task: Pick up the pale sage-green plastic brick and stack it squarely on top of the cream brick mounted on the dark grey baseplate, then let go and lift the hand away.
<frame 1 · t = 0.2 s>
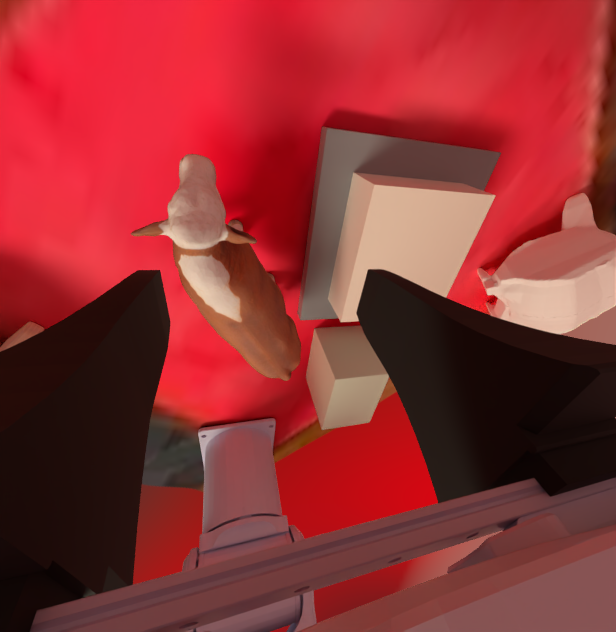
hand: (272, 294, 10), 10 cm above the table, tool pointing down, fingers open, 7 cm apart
tower base: (384, 239, 22), on the table
sage brick: (331, 352, 28), on the table
bull figurine: (233, 251, 19), on the table
white lumpy shape: (542, 248, 27), on the table
toy table: (0, 357, 20), on the table
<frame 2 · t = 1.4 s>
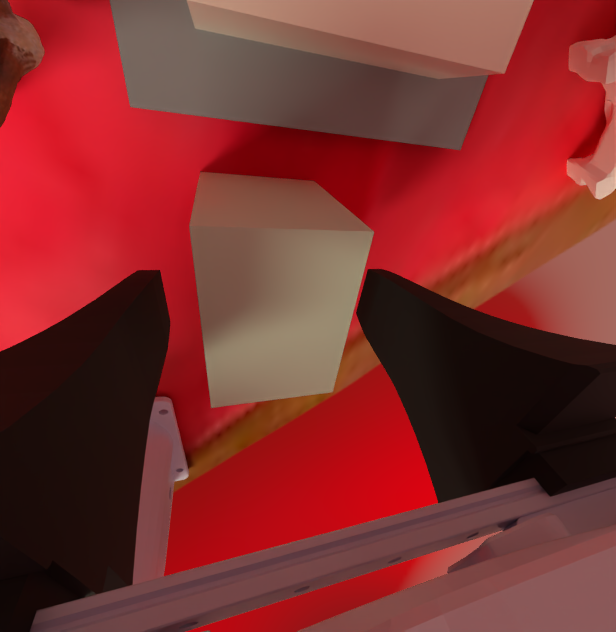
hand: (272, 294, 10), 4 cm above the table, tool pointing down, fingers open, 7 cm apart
sage brick: (258, 250, 13), on the table
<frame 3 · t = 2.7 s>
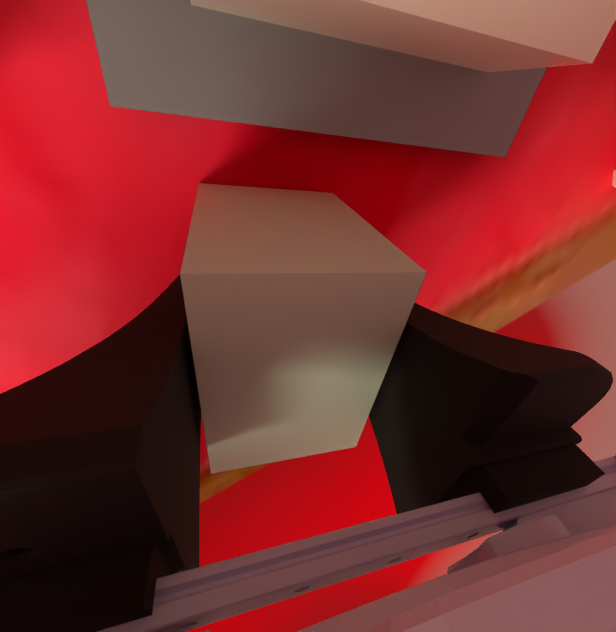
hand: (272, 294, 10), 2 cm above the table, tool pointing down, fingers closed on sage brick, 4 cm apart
sage brick: (266, 272, 12), on the table, touching gripper
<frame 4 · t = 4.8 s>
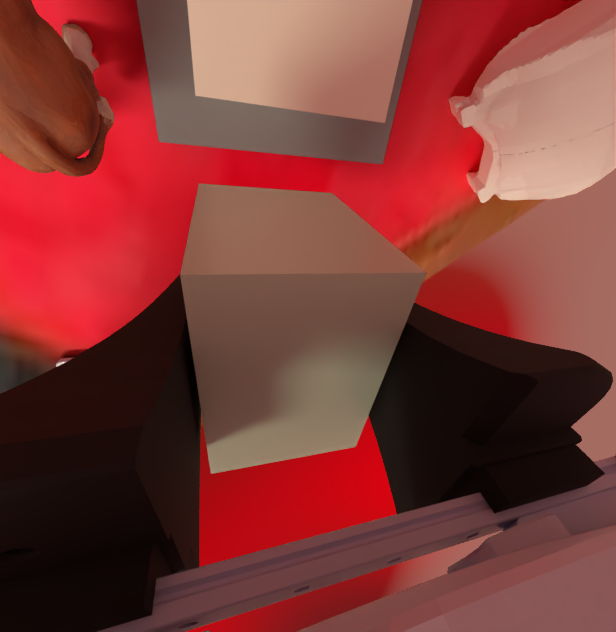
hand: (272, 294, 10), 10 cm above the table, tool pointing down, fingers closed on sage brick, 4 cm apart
sage brick: (266, 273, 12), point 8 cm above the table, touching gripper
white lumpy shape: (548, 74, 18), on the table
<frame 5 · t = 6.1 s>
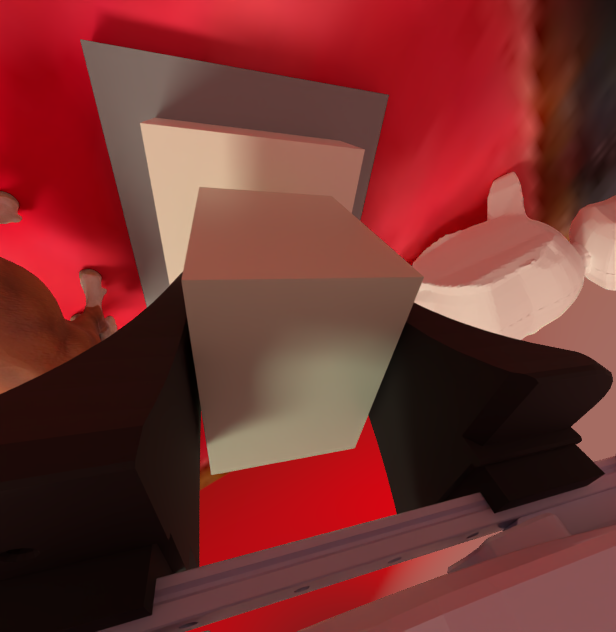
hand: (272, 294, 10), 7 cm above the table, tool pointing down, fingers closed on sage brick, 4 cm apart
tower base: (252, 223, 16), on the table
sage brick: (266, 275, 12), point 6 cm above the table, touching gripper
bull figurine: (23, 238, 14), on the table
white lumpy shape: (473, 245, 21), on the table
when the fingers open (7 cm above the table, at t = 7.1 s): sage brick stays where it is, resting on tower base.
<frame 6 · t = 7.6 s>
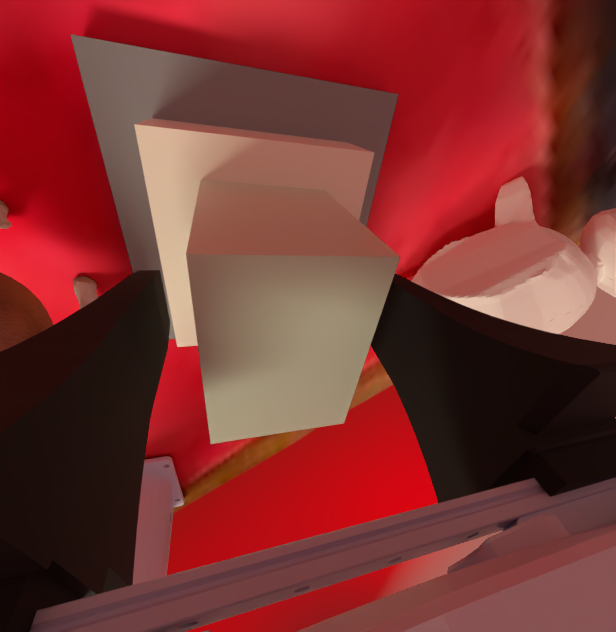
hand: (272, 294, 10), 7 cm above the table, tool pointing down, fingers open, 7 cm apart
tower base: (254, 228, 15), on the table
sage brick: (262, 264, 12), point 4 cm above the table, touching tower base
bull figurine: (14, 245, 13), on the table
white lumpy shape: (479, 251, 21), on the table
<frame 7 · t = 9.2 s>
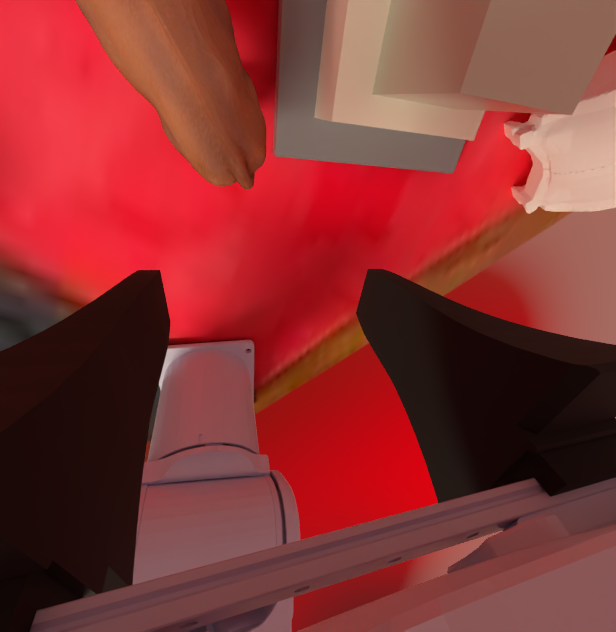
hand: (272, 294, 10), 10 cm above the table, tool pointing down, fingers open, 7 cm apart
tower base: (395, 20, 15), on the table
sage brick: (442, 3, 12), point 4 cm above the table, touching tower base
bull figurine: (164, 6, 13), on the table
white lumpy shape: (589, 102, 20), on the table
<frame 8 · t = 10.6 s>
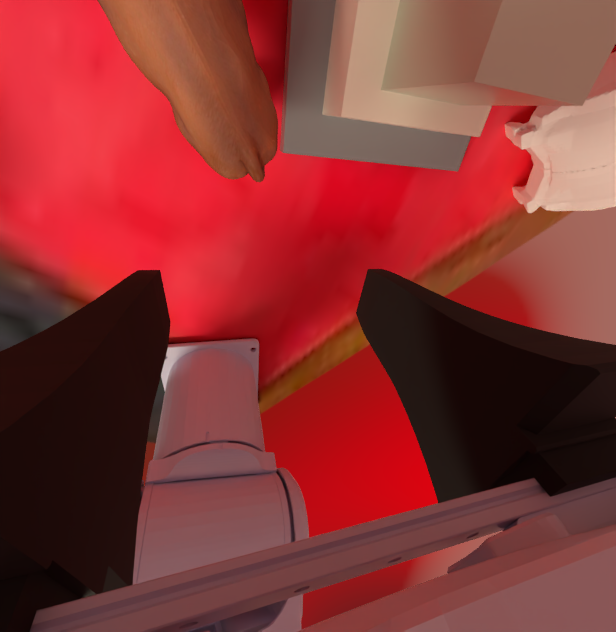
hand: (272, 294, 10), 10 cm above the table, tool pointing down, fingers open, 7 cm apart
tower base: (402, 19, 15), on the table
sage brick: (450, 0, 12), point 4 cm above the table, touching tower base
bull figurine: (175, 3, 13), on the table
white lumpy shape: (587, 104, 20), on the table
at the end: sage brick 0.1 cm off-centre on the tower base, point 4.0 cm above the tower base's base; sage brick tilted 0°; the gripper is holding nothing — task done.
